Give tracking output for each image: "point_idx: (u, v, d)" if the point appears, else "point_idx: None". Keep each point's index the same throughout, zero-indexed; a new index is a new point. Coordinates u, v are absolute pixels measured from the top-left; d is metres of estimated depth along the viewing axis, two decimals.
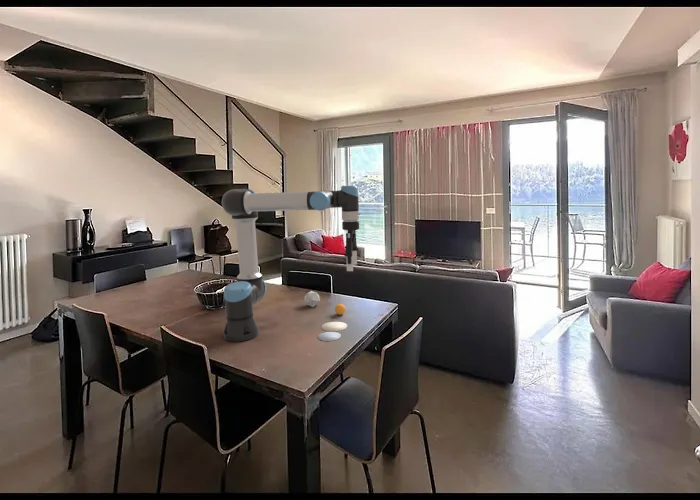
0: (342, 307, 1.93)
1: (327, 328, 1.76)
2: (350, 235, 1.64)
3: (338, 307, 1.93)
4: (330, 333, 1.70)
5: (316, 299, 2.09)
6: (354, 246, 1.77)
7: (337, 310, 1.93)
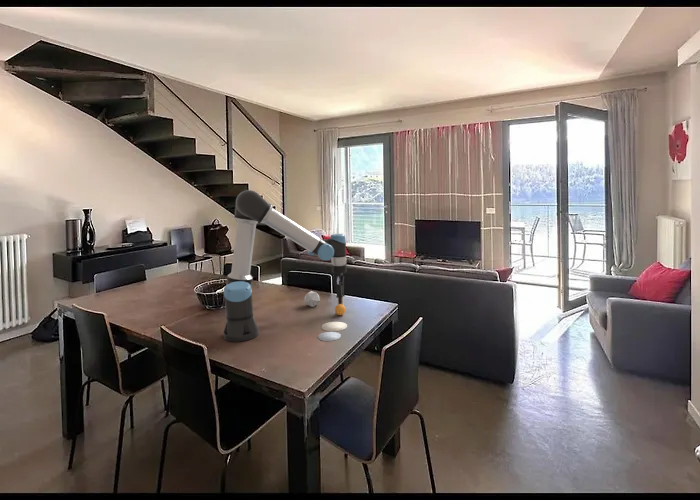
0: (342, 308, 1.92)
1: (327, 328, 1.76)
2: (339, 283, 1.90)
3: (338, 309, 1.92)
4: (330, 333, 1.70)
5: (316, 299, 2.09)
6: (341, 290, 1.97)
7: (337, 311, 1.92)
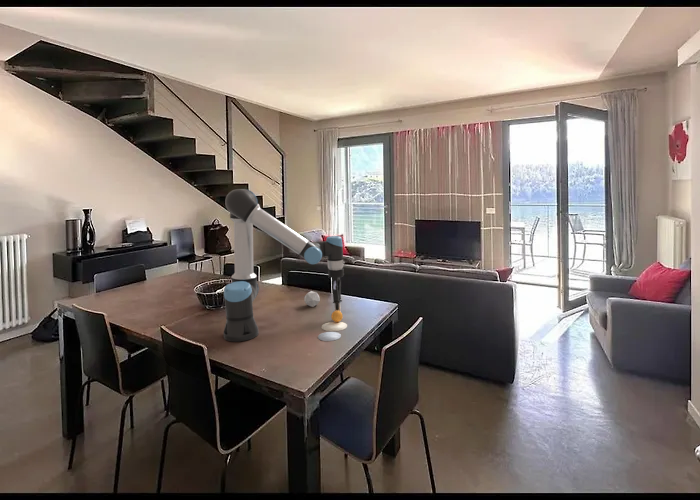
0: (339, 316, 1.83)
1: (327, 328, 1.76)
2: (336, 288, 1.80)
3: (335, 316, 1.82)
4: (330, 333, 1.70)
5: (316, 299, 2.09)
6: (338, 295, 1.87)
7: (334, 319, 1.83)
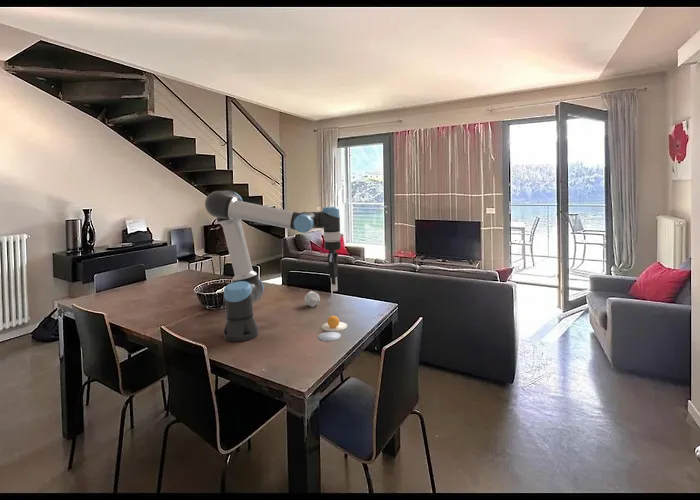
0: (335, 324, 1.75)
1: (327, 328, 1.76)
2: (332, 260, 1.71)
3: (331, 325, 1.75)
4: (330, 333, 1.70)
5: (316, 299, 2.09)
6: (335, 269, 1.79)
7: (331, 327, 1.77)
